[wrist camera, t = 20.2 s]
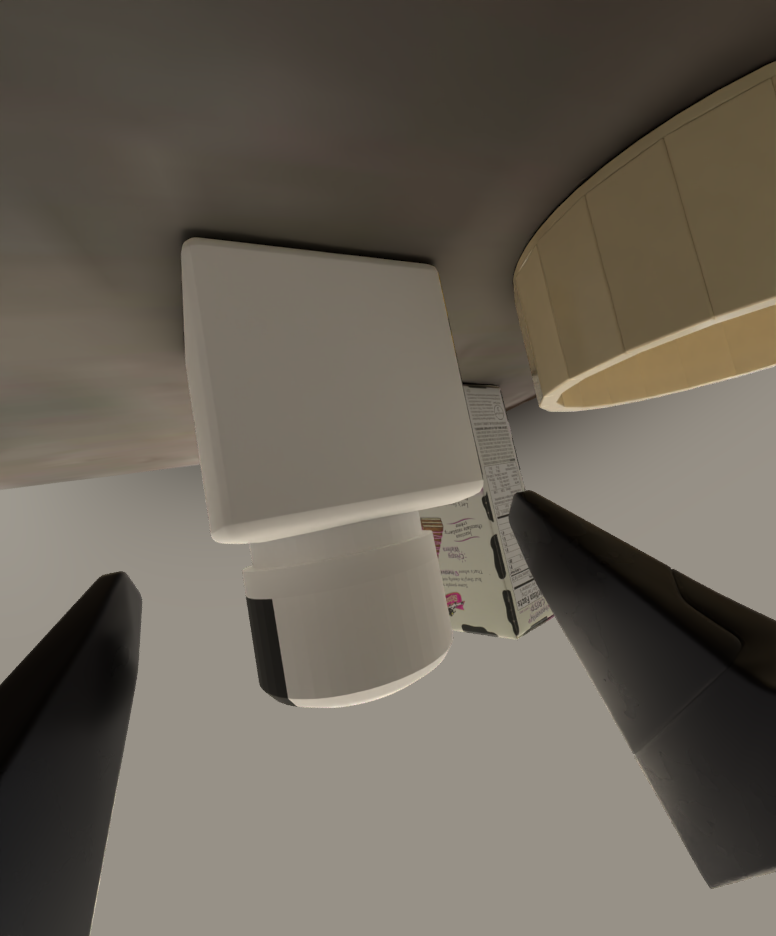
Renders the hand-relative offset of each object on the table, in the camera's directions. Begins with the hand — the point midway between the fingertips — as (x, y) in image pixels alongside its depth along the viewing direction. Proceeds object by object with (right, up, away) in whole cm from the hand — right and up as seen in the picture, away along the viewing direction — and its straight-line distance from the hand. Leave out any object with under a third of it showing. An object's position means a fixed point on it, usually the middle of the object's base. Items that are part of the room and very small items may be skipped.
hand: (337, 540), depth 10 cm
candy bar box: (+4, +6, +22) cm, 23 cm away
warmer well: (+11, +9, +3) cm, 15 cm away
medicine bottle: (-2, +7, +4) cm, 9 cm away
